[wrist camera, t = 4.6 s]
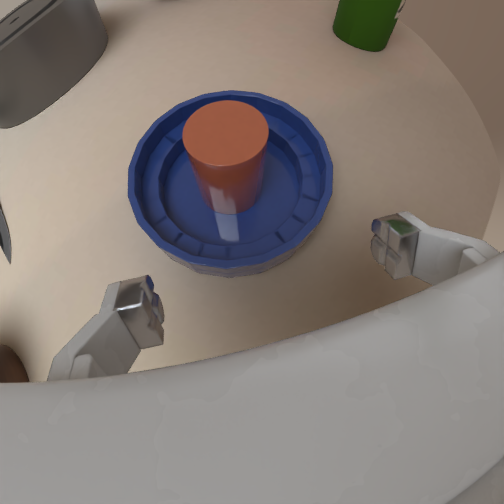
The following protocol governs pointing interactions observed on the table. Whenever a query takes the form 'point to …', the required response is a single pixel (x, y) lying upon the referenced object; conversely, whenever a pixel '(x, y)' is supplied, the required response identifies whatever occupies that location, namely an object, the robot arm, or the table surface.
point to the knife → (5, 238)
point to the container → (45, 54)
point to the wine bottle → (367, 22)
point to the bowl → (231, 225)
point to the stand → (11, 367)
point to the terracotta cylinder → (227, 154)
